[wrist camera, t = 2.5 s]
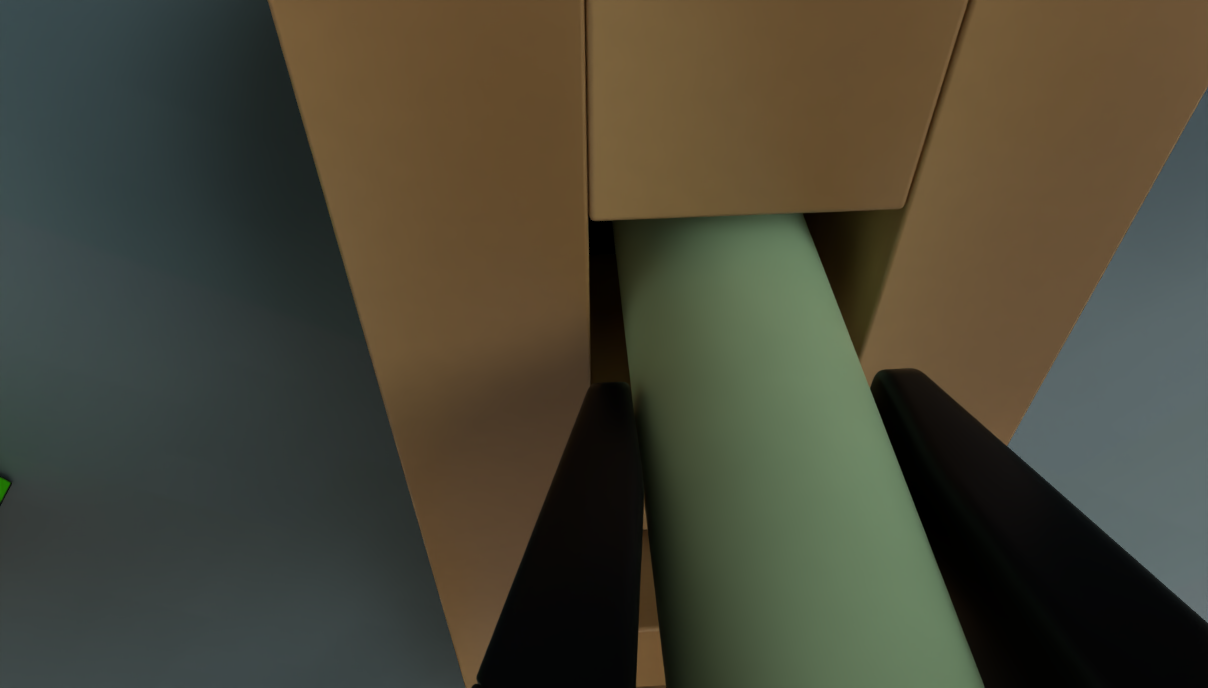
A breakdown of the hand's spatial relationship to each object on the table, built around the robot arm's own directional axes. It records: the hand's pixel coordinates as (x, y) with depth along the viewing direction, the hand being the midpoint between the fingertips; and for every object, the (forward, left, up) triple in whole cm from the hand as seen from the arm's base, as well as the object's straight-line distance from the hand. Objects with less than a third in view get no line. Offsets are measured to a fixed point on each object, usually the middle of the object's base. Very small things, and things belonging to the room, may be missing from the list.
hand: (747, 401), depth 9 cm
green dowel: (0, 0, -4) cm, 4 cm away
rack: (0, -6, -4) cm, 7 cm away
